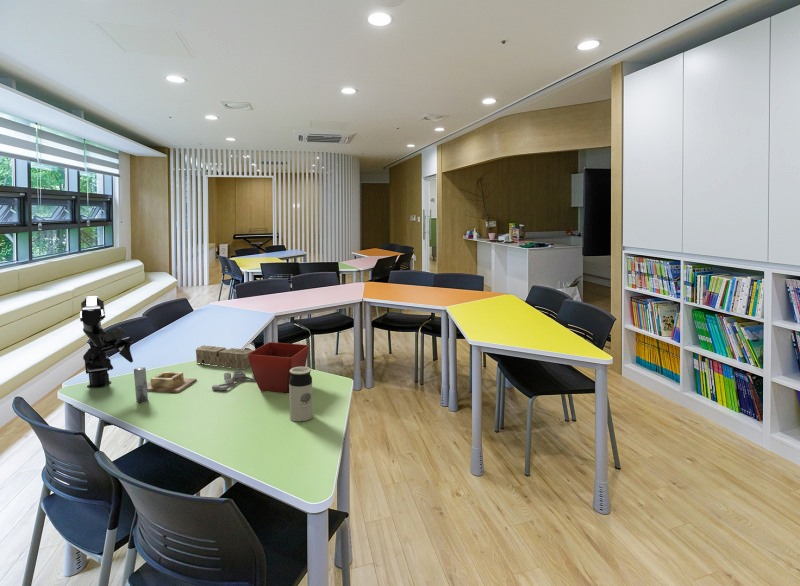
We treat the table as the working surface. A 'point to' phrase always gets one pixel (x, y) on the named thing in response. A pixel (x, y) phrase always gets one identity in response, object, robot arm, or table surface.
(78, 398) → the table surface
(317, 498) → the table surface
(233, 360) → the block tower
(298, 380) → the travel mug
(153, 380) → the socket board
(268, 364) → the plant pot
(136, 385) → the metal pin
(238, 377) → the pulley system
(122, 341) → the robot arm
